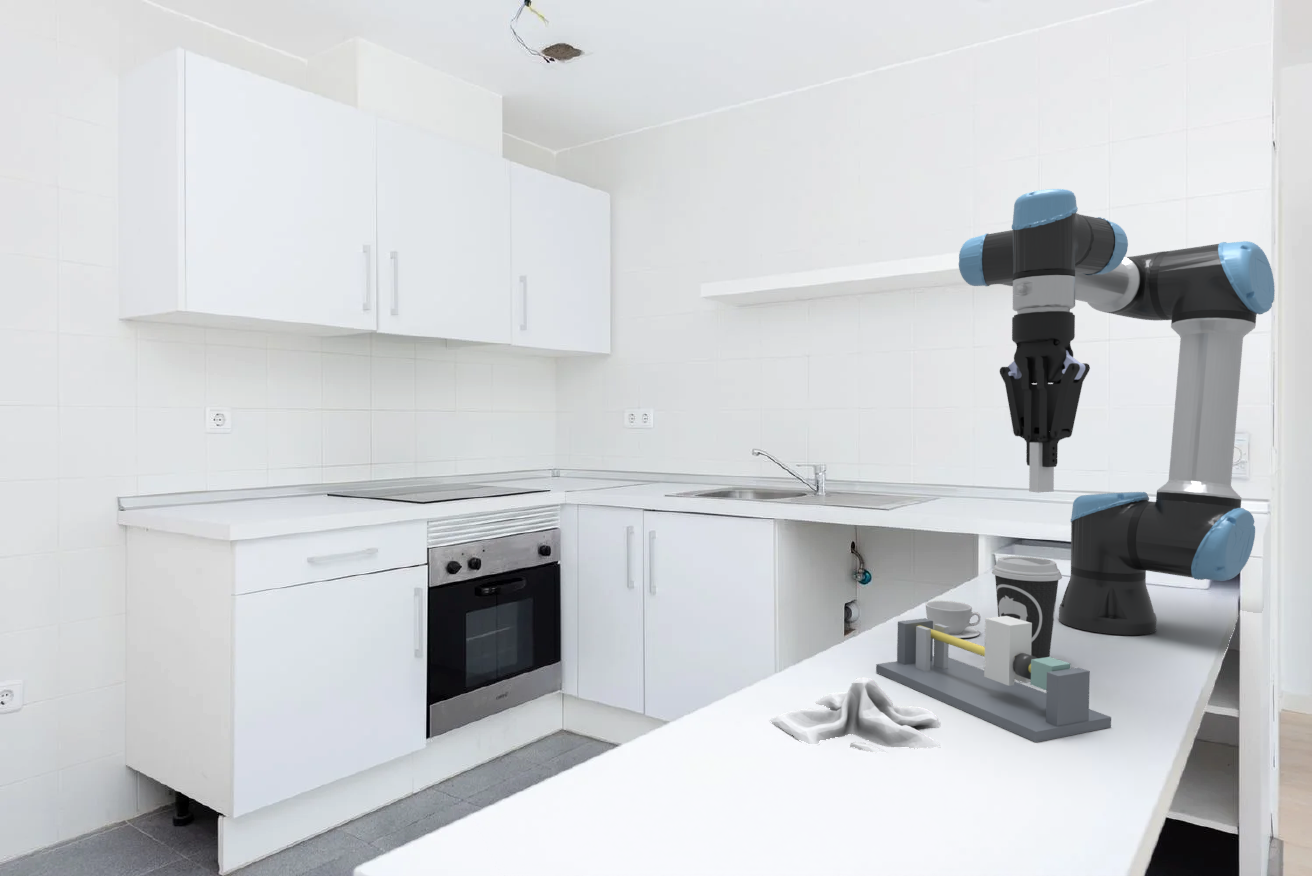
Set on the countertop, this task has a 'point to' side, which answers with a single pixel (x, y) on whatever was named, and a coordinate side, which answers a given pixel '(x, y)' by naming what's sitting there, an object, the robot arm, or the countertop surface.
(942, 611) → the teacup
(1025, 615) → the coffee cup
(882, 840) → the countertop surface
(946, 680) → the linear slide fixture
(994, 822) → the countertop surface
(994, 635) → the white rectangular block
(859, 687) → the cloth
